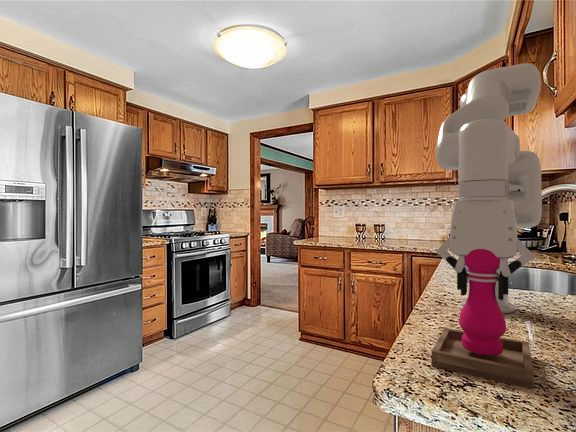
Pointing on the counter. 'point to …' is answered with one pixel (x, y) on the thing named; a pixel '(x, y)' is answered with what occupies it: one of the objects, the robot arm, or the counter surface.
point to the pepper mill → (482, 305)
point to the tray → (485, 360)
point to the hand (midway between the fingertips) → (482, 295)
